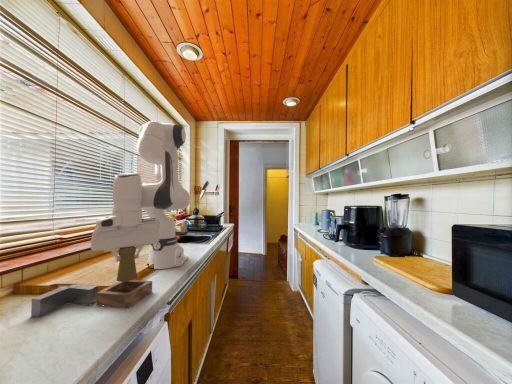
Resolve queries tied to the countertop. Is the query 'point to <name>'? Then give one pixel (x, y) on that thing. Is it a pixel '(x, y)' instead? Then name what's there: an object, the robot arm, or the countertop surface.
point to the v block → (63, 298)
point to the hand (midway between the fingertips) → (127, 259)
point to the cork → (127, 264)
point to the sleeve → (118, 298)
